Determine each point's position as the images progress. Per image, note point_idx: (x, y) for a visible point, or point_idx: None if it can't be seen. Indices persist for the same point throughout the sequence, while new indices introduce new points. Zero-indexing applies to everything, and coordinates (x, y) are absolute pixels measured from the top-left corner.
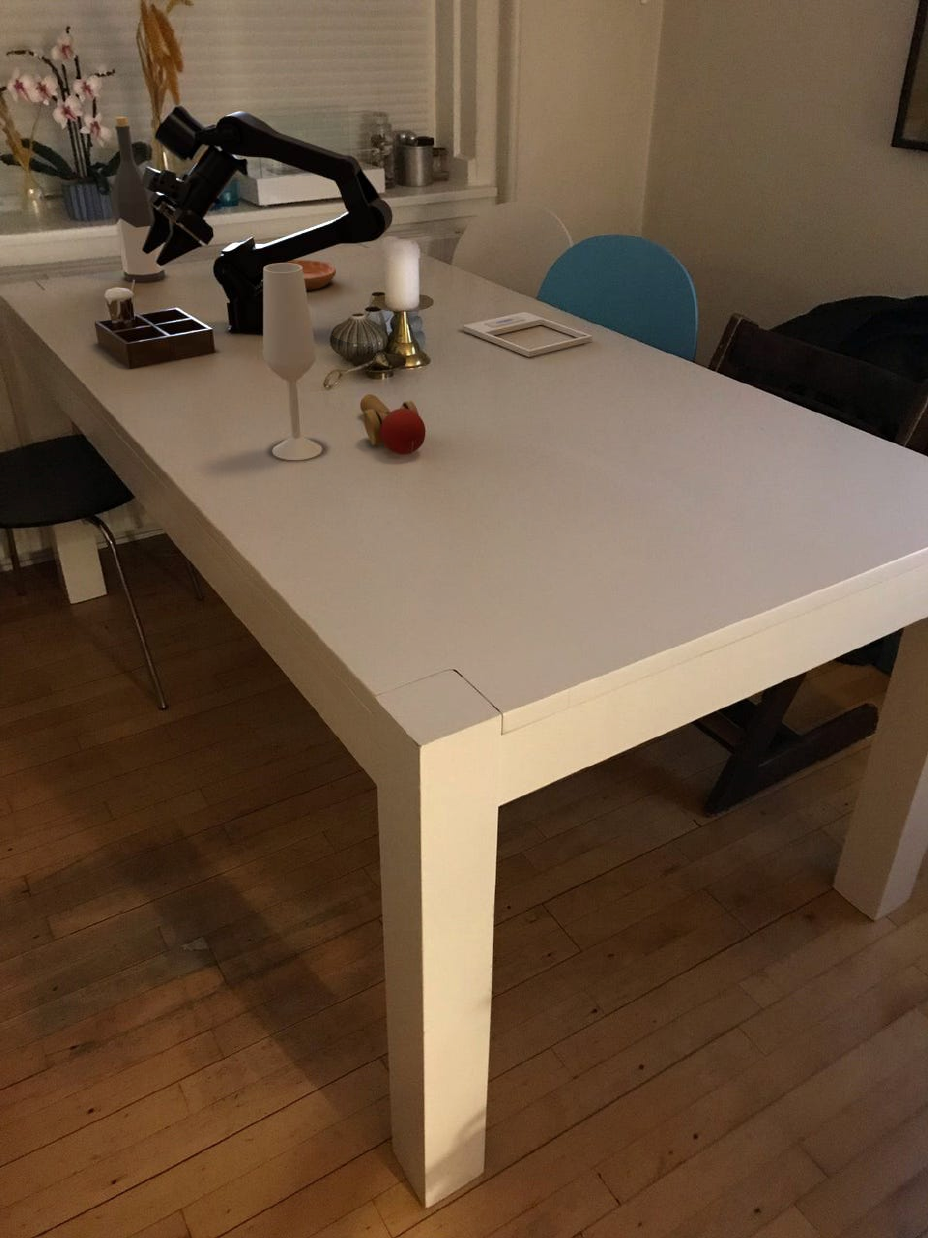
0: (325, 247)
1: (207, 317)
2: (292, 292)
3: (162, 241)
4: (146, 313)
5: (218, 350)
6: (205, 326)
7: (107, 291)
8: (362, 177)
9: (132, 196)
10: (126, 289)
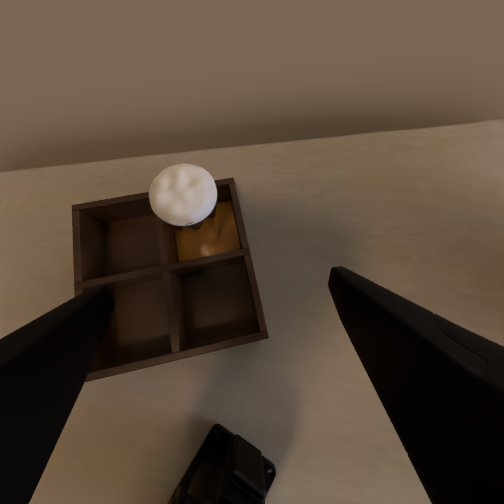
0: None
1: (330, 399)
2: None
3: (372, 372)
4: (249, 269)
5: (119, 375)
6: (102, 371)
7: (179, 164)
8: None
9: None
10: (173, 206)
